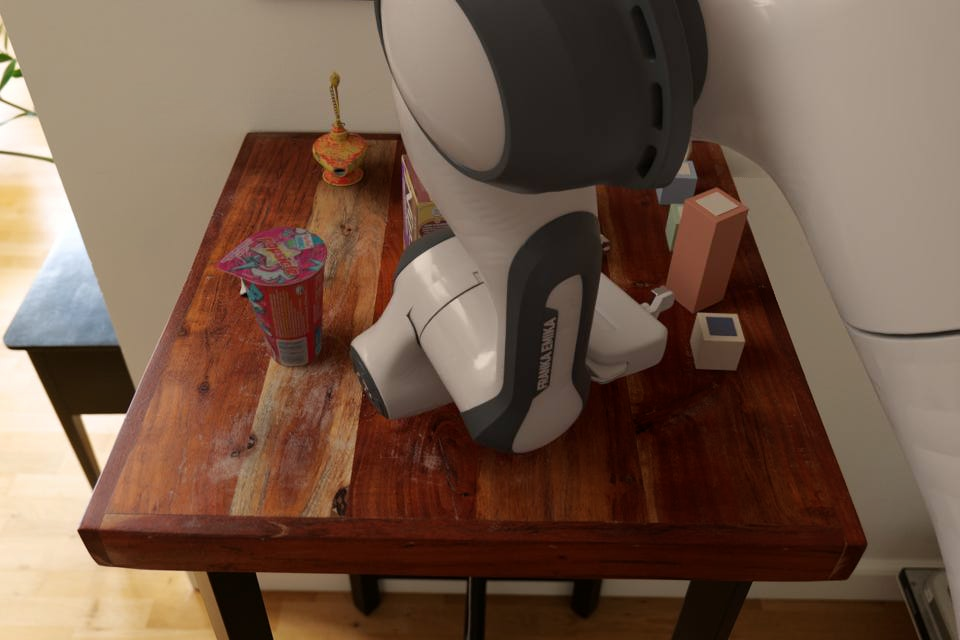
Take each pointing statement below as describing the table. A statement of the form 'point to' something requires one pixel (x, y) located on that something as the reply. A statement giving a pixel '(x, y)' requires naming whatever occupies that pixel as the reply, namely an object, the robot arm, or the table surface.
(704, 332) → the block
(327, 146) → the magic lamp
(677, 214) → the block
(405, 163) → the candy box
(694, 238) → the tall block
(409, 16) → the robot arm
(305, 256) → the cup
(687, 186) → the block
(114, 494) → the table surface
